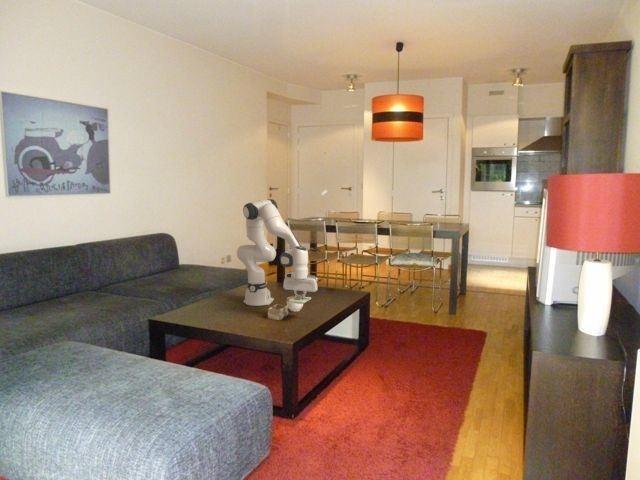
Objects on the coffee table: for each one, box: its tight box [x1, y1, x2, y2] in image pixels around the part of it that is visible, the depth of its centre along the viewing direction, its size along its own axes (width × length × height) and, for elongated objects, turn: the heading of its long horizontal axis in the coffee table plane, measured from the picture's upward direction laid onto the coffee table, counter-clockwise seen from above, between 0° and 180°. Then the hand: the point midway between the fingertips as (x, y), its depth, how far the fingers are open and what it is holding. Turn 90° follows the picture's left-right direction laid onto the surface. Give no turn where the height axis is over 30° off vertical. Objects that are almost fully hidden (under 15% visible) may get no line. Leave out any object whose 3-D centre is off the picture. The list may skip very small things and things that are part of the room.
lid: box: [289, 293, 312, 304], centre depth 288 cm, size 13×9×4 cm
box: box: [267, 303, 289, 321], centre depth 296 cm, size 12×8×6 cm, turn 162°
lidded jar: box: [286, 295, 304, 312], centre depth 312 cm, size 11×11×9 cm
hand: (300, 298), depth 288 cm, fingers closed on lid, 2 cm apart
